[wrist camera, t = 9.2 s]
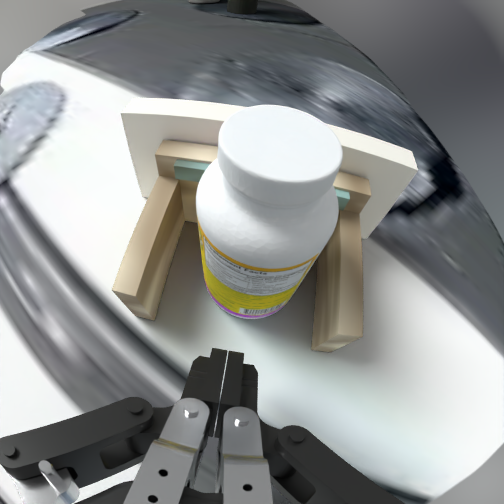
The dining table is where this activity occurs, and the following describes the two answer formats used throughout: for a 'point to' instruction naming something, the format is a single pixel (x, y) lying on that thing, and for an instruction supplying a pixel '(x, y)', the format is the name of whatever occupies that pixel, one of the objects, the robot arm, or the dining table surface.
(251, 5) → the sushi
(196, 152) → the cradle
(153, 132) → the backstop board
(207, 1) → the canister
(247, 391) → the robot arm
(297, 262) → the supplement bottle
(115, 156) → the dining table surface
